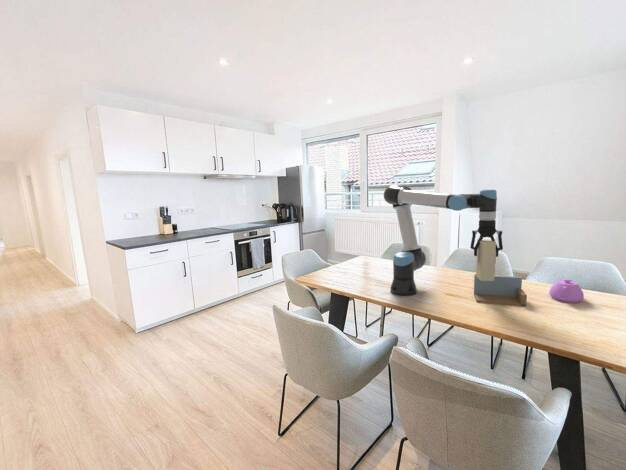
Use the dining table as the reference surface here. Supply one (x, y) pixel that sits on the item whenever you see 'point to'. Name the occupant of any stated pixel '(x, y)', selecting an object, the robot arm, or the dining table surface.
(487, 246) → the toy refrigerator
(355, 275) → the dining table surface
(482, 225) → the robot arm
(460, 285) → the dining table surface
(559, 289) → the purple dimpled dome
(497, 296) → the cleat board
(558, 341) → the dining table surface
